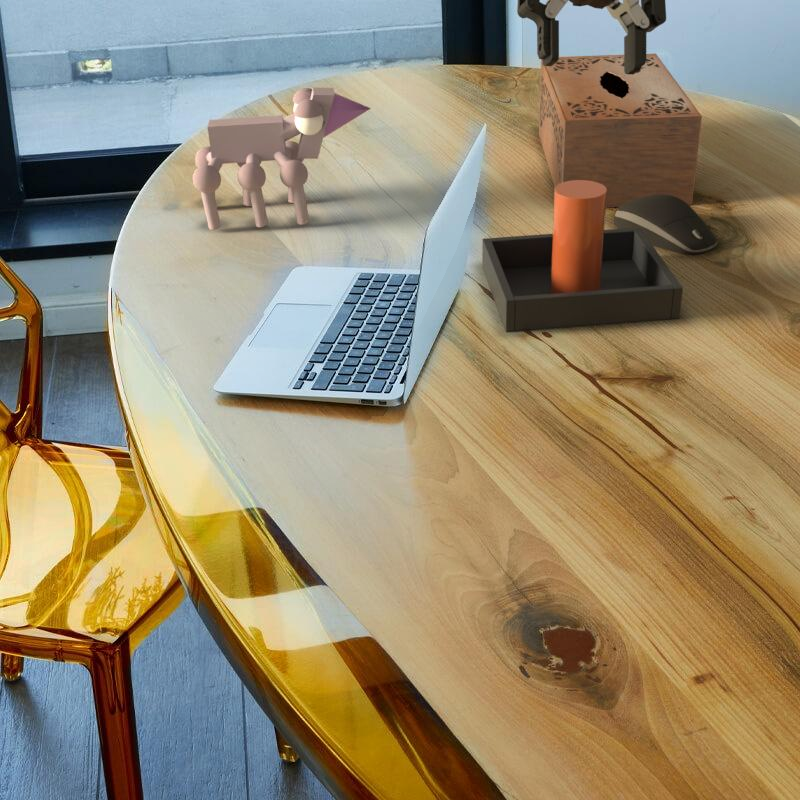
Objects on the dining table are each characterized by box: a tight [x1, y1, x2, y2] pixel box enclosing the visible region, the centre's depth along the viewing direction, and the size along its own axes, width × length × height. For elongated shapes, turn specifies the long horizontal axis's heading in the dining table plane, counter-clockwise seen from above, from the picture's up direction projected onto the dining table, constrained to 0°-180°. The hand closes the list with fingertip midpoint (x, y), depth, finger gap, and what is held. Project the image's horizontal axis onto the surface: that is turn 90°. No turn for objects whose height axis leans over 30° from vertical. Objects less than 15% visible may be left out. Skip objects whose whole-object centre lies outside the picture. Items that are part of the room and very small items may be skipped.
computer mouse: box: [613, 194, 718, 256], centre depth 111 cm, size 7×12×4 cm, turn 32°
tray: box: [481, 228, 684, 333], centre depth 100 cm, size 16×14×4 cm
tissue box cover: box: [538, 53, 703, 209], centre depth 128 cm, size 26×14×10 cm, turn 179°
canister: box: [551, 180, 607, 294], centre depth 98 cm, size 5×5×10 cm
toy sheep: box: [192, 87, 372, 231], centre depth 118 cm, size 20×11×14 cm, turn 95°
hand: (592, 68), depth 101 cm, fingers open, 8 cm apart
